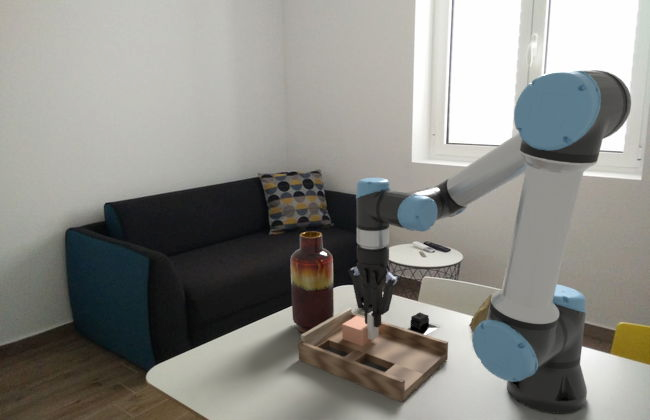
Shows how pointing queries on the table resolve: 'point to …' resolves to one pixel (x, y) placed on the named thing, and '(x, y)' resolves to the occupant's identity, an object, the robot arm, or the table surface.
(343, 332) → the block
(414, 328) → the black piece
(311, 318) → the vase
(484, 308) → the rock
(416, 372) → the box
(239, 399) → the table surface
